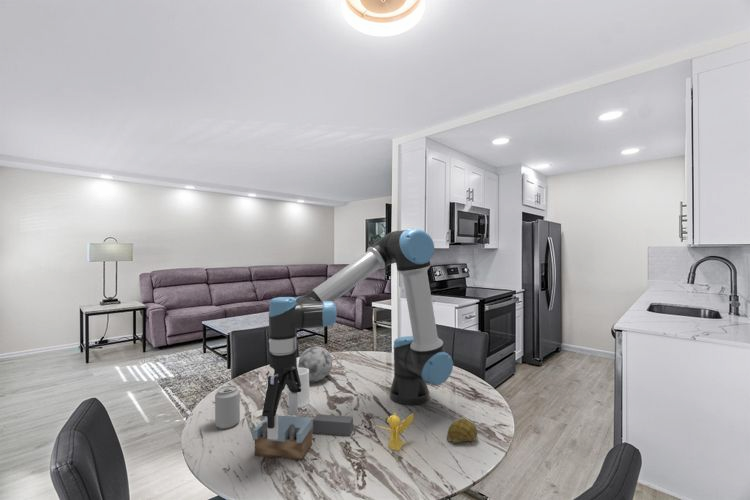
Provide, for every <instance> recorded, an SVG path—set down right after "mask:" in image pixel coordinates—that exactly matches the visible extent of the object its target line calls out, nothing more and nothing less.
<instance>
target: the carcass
mask: <svg viewBox="0 0 750 500" xmlns="http://www.w3.org/2000/svg"><path fill="white" fill-rule="evenodd" d="M262 426H263V434H262V435H261V436H260V437H259V438H258V439H254V456H256V457H257V456H258V457H266V458H267V457H269V458H277V459H278V458H279V459H286V460H287V459H289V460H297V461H303V460H304V458H305V457H306V455H307V453H309V450H310V449H311V447H312V446H313V427H312V428H311V429H310V431H309V432H308V434H307V435H306V437H305V438H304V440H303V441H302V442H301V443H297V436H295V425H294V424H291V425H290V436H289V437H288V438H287V439H286V440H285V442H282V441H270V440H269V439H267V422H264V423H263V424H262Z"/></svg>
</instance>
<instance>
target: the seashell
mask: <svg viewBox="0 0 750 500" xmlns="http://www.w3.org/2000/svg"><path fill="white" fill-rule="evenodd" d="M478 431H479V430H478V428H477V426H476V425H475V424H474V423H473V422H472V421H471V420H469V419H466V418H459V419H457V420H455V421H453V422H452V423H451V424H450V426H449V428H448V431H447V434H446V441H447V443H451V442H452V444H462V443H463V442H464V441H466V442H474V441H475V440H476V439H477V437H478Z"/></svg>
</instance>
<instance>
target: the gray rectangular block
mask: <svg viewBox="0 0 750 500" xmlns="http://www.w3.org/2000/svg"><path fill="white" fill-rule="evenodd" d="M353 431H354V416H348V415H347V416H346V415H335V414H322V413H320V414H319V413H316V415H315V416H314V418H313V427H312V434H322V435H332V436H333V435H336V436H346V437H351V435H352V433H353Z"/></svg>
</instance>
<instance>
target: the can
mask: <svg viewBox="0 0 750 500" xmlns="http://www.w3.org/2000/svg"><path fill="white" fill-rule="evenodd" d="M240 393H241V391H240V390H239V389H238V386H237V385H235V384H229V385H223V386H220V387H219V388H217V390H216V392H215V395H214V418H215V419H214V420H215V421H214V423H215V424H214V425H215V427H217V428H218V429H220V430H227V429H231V428H234V427H235V426H237V425H238V423H239V422H240V421H241V414H240V413H241V409H240V408H241V407H240V406H241V404H240V402H241V401H240V400H241V399H240V396H241V395H240Z"/></svg>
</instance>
